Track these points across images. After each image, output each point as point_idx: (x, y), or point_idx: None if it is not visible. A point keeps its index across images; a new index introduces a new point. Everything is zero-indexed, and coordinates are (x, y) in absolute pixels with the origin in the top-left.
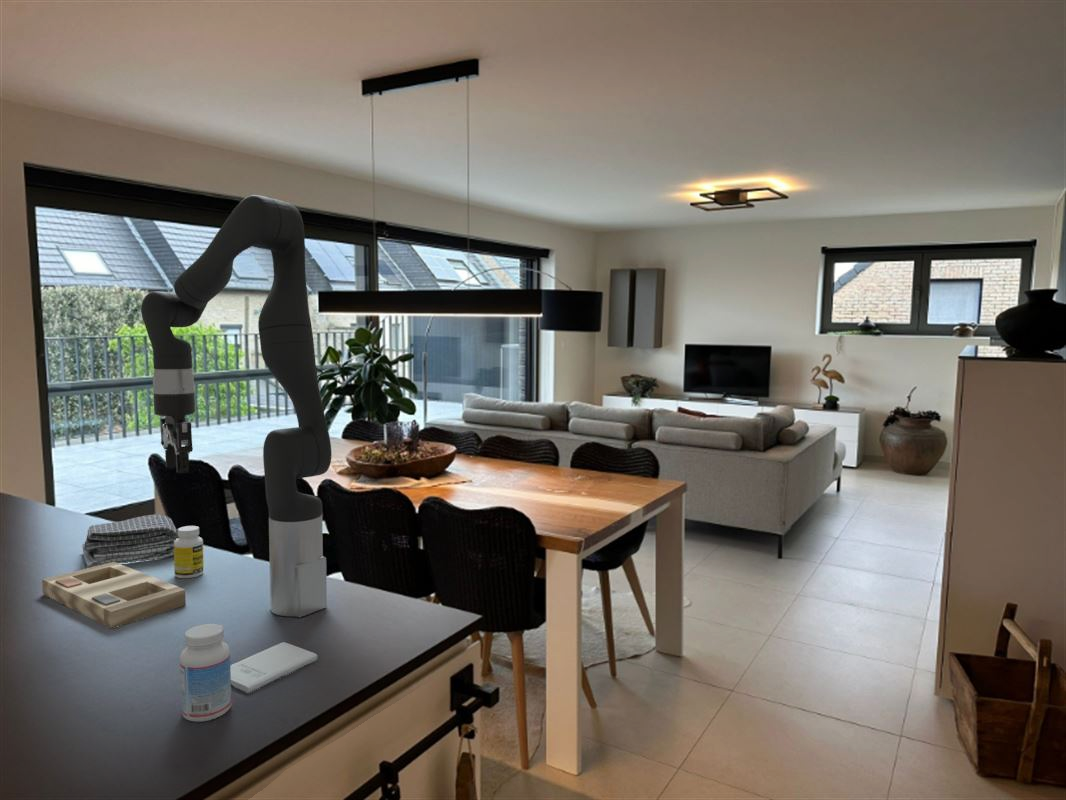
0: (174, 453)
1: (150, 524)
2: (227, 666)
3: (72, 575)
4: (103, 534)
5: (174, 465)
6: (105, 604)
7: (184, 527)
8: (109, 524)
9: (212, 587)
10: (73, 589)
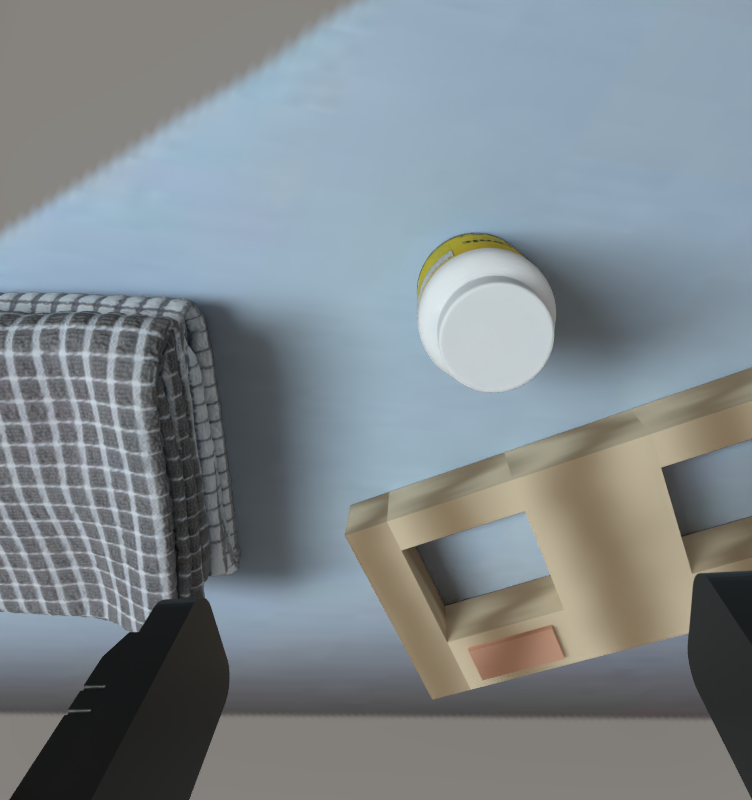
0: (134, 778)
1: (35, 428)
2: None
3: (439, 640)
4: None
5: (203, 632)
6: None
7: (464, 356)
8: None
9: (690, 225)
10: (589, 644)
